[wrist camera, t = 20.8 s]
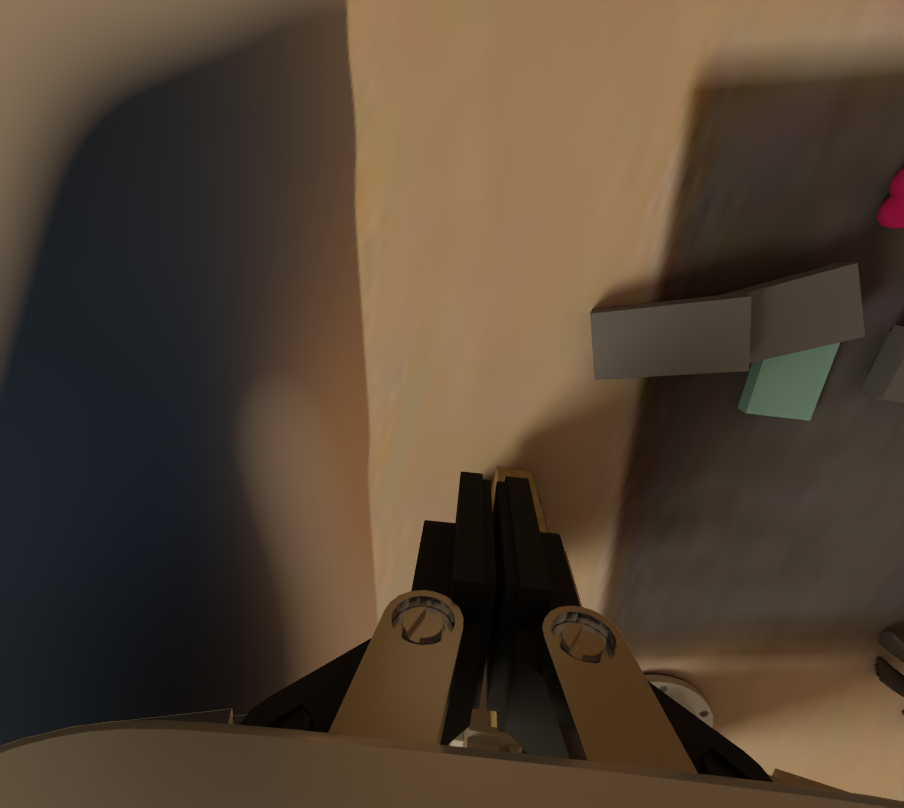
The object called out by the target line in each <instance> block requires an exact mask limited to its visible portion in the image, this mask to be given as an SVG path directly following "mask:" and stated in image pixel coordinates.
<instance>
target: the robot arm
mask: <svg viewBox="0 0 904 808" xmlns="http://www.w3.org/2000/svg"><path fill="white" fill-rule="evenodd" d="M485 664H486V704H487V711H496V714H497V731H499V732H507V733H508V734H509V735H510V736H511V737H512V738H513V739H514V740H515V741H516V742H517V743H518V744H519V745H520V747H519V753H512V752H503V751H493V750H484V749H475V748H466V747H457V746H449V743H451V742H452V741H453V740H454V739H455V738H456V737H458V736H459V735H460V734H461V733H462V732H463V731H465V730H466V729H467V728H468V727H469V726H470V722H471V714H472V709H478V710H479V705H480V698H481V692H482V685H483V678H484V671H485ZM0 808H904V801H898V800H892V799H887V798H881V797H876V796H870V795H863V794H855V793H850V792H847V791H844V790H841V789H837V788H834V787H831V786H828V785H825V784H822V783H819V782H816V781H813V780H810V779H807V778H803V777H800V776H797V775H794V774H791V773H788V772H785V771H782V770H779V769H776V768H775V770H774V772H773V774H772V776H771V775H768V774H767V773H766V772H765V771H764V770H763V769H762V767H761V766H760V765H759V764H758V763H757V762H756V761H754V760H753V759H752V758H751V757H750V756H749V755H748V754H746V753H745V752H744V751H743V750H741V749H740V748H739V747H737V746H736V745H735V744H733V743H732V742H731V741H729V740H728V739H726V738H725V737H724V736H722V735H721V734H720V733H718V732H717V731H716V730H714V729H713V715H712V712H711V709H710V707H709V705H708V703H707V701H706V699H705V697H704V696H703V695H702V694H701V692H700V691H699V690H698V689H696V688H695V687H694V686H692V685H691V684H689V683H687V682H685V681H683V680H681V679H677V678H674V677H671V676H664V675H644V674H643V672H642V670H641V668H640V666H639V665H638V663H637V661H636V659H635V657H634V656H633V654H632V652H631V650H630V648H629V646H628V645H627V643H626V641H625V639H624V637H623V635H622V634H621V633H620V631H619V630H618V629H617V627H616V626H615V625H614V624H613V623H612V622H611V621H609V620H608V619H607V618H606V617H604V616H602V615H601V614H599V613H597V612H595V611H593V610H590V609H587V608H584V607H580V604H579V601H578V597H577V593H576V590H575V586H574V583H573V579H572V576H571V572H570V569H569V565H568V562H567V558H566V555H565V551H564V547H563V544H562V540H561V538H560V535H559V534H555V533H546V532H540V529H539V525H538V520H537V516H536V511H535V506H534V502H533V497H532V493H531V488H530V483H529V479H528V478H520V477H510V476H506V477H505V482H503V481H497V483H496V489H495V497H494V505H493V512H492V496H491V481H490V480H483V475H482V474H480V473H470V472H461V475H460V484H459V494H458V504H457V514H456V523H447V522H437V521H428V520H425V521H424V526H423V531H422V537H421V542H420V548H419V553H418V558H417V564H416V569H415V575H414V580H413V585H412V591H410V592H407V593H404V594H402V595H399V596H398V597H396V598H395V599H394V600H392V601H391V602H390V603H389V605H388V606H387V607H386V609H385V610H384V613H383V615H382V617H381V619H380V621H379V623H378V626H377V628H376V630H375V632H374V634H373V636H372V638H371V639H369V640H367V641H366V642H364V643H362V644H360V645H359V646H357V647H355V648H354V649H352V650H350V651H348V652H347V653H345V654H343V655H341V656H339V657H338V658H336V659H335V660H333V661H331V662H329V663H327V664H326V665H324V666H322V667H320V668H319V669H317V670H315V671H313V672H312V673H310V674H308V675H306V676H305V677H303V678H301V679H299V680H298V681H296V682H295V683H293V684H291V685H289V686H288V687H286V688H284V689H282V690H280V691H279V692H277V693H275V694H273V695H272V696H270V697H268V698H266V699H265V700H264V701H262V702H261V703H259V704H258V705H257V706H255V707H254V708H253V709H252V710H251V711H250V712H249V713H248V714H247V715H240V716H232V709H224V710H216V711H207V712H198V713H190V714H180V715H171V716H163V717H153V718H144V719H136V720H127V721H113V722H106V723H98V724H91V725H83V726H76V727H69V728H65V729H61V730H57V731H53V732H49V733H45V734H40V735H36V736H32V737H28V738H24V739H20V740H17V741H14V742H11V743H8V744H5V745H2V746H0Z"/></svg>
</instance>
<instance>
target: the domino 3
mask: <svg viewBox="0 0 904 808" xmlns="http://www.w3.org/2000/svg"><path fill="white" fill-rule="evenodd" d="M839 344H840V343H836V344H831V345H827V346H822V347H818V348H814V349H809V350H805V351H801V352H796V353H792V354H787V355H783V356H779V357H774V358H770V359H766V360H761V361H757V362H753V363H752V365H751V368H750V371H749V374H748V377H747V380H746V383H745V386H744V389H743V392H742V395H741V399H740V402H739V405H738V409H740V410H741V411H743V412H744V413H747V414H756V415H765V416H774V417H783V418H791V419H800V420H809V421H810V420H811V417H812V414H813V412H814V409H815V407H816V404H817V401H818V399H819V396H820V394H821V391H822V388H823V386H824V383H825V381H826V378H827V376H828V373H829V370H830V368H831V365H832V363H833V360H834V357H835V355H836V352H837V350H838V347H839Z"/></svg>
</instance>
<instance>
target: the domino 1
mask: <svg viewBox="0 0 904 808" xmlns="http://www.w3.org/2000/svg"><path fill="white" fill-rule="evenodd" d="M751 297H752V296H750V295H748V294H747V293H745V292H743V293H734V294H725V295H716V296H707V297H698V298H689V299H679V300H670V301H661V302H652V303H643V304H634V305H625V306H616V307H607V308H598V309H592V311H591V313H590V316H591V330H592V344H593V358H594V371H595V380H600V379H618V378H635V377H653V376H671V375H689V374H706V373H724V372H742V371H749V360H750V328H751Z"/></svg>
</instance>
